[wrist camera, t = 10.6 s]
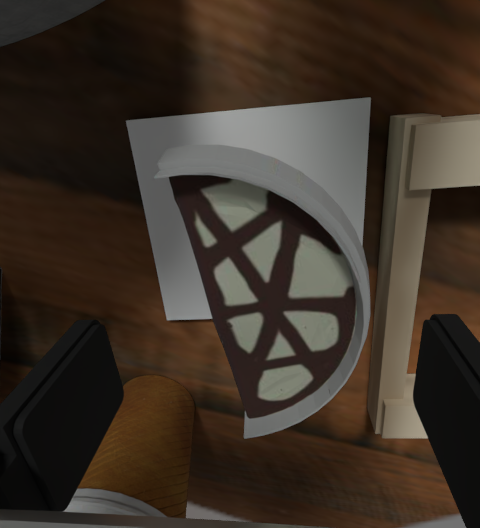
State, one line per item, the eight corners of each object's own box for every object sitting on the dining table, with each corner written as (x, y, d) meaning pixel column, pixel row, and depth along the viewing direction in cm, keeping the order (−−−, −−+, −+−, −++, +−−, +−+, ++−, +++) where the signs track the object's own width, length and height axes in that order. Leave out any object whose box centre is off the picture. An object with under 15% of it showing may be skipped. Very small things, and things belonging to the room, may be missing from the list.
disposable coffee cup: (106, 344, 27) (-3, 509, 16) (227, 376, 28) (200, 558, 17) (94, 428, 31) (1, 605, 20) (200, 455, 32) (164, 642, 21)
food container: (347, 301, 23) (397, 431, 14) (255, 317, 24) (247, 447, 15) (317, 99, 18) (364, 102, 9) (204, 129, 19) (147, 158, 10)
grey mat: (368, 97, 19) (371, 97, 18) (356, 309, 24) (358, 314, 24) (129, 120, 20) (125, 120, 20) (169, 315, 26) (166, 320, 25)
